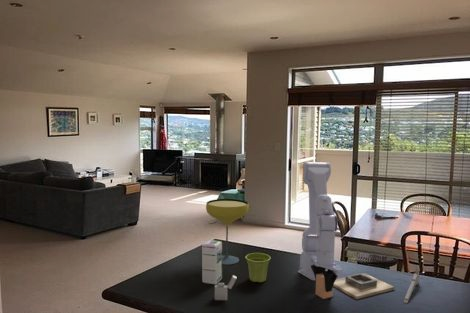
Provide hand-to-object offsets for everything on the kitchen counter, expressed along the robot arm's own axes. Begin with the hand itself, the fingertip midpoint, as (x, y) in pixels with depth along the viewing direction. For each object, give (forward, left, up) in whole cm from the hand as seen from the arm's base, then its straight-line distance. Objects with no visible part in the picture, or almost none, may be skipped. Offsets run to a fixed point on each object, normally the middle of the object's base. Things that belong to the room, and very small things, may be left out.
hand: (324, 288), depth 125 cm
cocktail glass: (-44, -16, -3) cm, 47 cm away
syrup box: (-27, -30, -3) cm, 40 cm away
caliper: (+11, +30, -3) cm, 32 cm away
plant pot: (-21, -14, -3) cm, 25 cm away
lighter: (-11, -32, -3) cm, 34 cm away
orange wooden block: (0, 0, -2) cm, 2 cm away
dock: (0, +17, -2) cm, 17 cm away
